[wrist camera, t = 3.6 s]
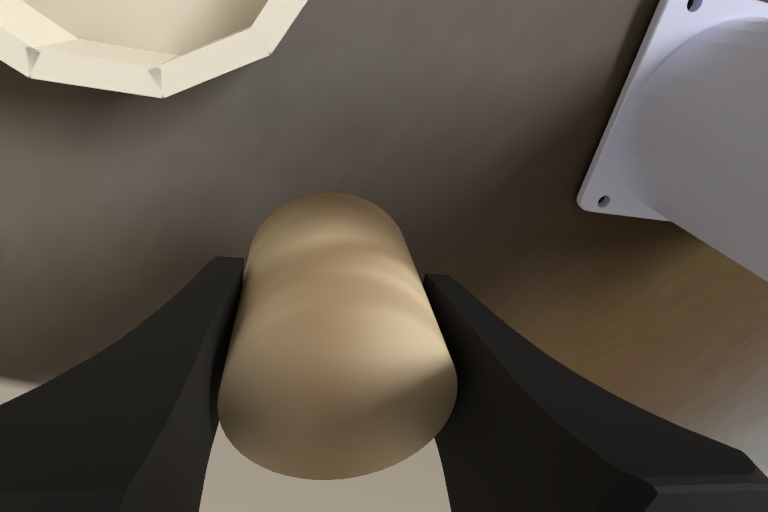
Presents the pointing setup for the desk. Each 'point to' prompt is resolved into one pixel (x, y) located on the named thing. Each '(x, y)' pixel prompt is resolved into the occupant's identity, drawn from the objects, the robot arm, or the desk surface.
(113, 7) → the bowl
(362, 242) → the tan wooden cylinder
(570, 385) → the robot arm
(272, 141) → the desk surface
